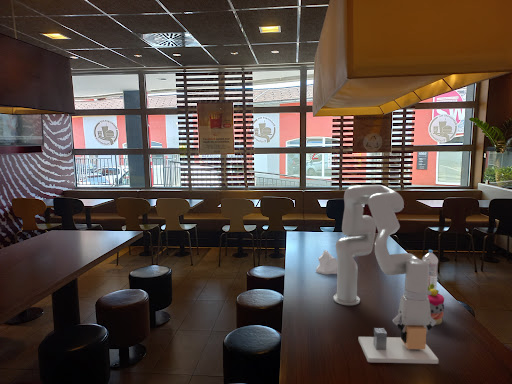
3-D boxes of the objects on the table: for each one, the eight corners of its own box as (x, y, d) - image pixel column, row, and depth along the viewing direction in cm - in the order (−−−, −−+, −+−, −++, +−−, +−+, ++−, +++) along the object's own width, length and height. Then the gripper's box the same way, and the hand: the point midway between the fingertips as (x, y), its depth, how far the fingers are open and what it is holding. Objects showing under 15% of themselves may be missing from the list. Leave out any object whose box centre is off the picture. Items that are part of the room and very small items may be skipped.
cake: (448, 323, 149) (451, 289, 147) (428, 326, 146) (430, 292, 144) (430, 312, 159) (432, 280, 157) (410, 315, 156) (412, 283, 154)
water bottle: (423, 295, 177) (426, 247, 174) (437, 299, 172) (440, 250, 169) (417, 299, 172) (420, 250, 169) (432, 304, 167) (435, 253, 164)
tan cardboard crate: (401, 339, 131) (402, 320, 130) (418, 339, 131) (419, 320, 130) (407, 348, 125) (408, 328, 124) (425, 349, 125) (426, 329, 124)
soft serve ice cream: (332, 279, 202) (327, 257, 199) (312, 275, 214) (307, 254, 211) (344, 269, 210) (340, 248, 207) (324, 265, 222) (320, 245, 218)
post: (373, 348, 131) (373, 327, 130) (382, 348, 131) (383, 328, 130) (375, 353, 127) (376, 333, 126) (386, 353, 127) (386, 333, 126)
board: (358, 340, 136) (358, 336, 136) (421, 341, 135) (421, 337, 135) (368, 362, 122) (368, 358, 122) (438, 363, 121) (438, 359, 121)
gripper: (435, 290, 129) (432, 336, 131) (387, 289, 130) (385, 335, 132) (445, 298, 122) (442, 347, 124) (395, 298, 122) (392, 346, 125)
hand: (413, 340), depth 128 cm, fingers closed on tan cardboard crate, 5 cm apart
